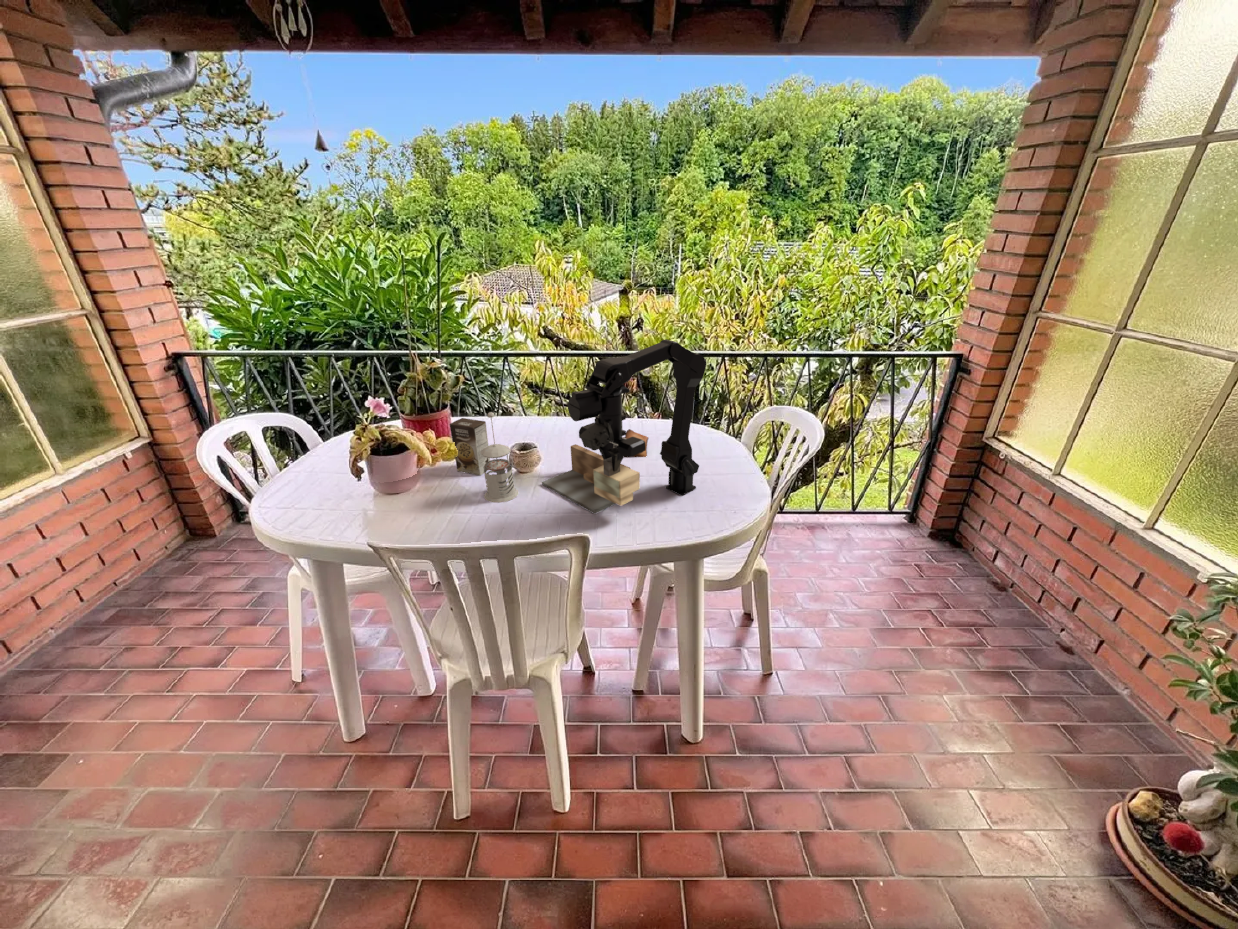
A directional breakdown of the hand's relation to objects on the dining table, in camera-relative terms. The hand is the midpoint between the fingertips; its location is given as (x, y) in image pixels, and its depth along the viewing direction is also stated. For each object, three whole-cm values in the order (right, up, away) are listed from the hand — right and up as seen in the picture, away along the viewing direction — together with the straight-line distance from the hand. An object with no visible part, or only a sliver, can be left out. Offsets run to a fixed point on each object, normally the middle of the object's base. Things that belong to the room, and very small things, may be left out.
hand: (612, 469), depth 133 cm
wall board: (-8, -6, +18) cm, 20 cm away
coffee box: (-44, 0, +32) cm, 54 cm away
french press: (-32, -7, +17) cm, 37 cm away
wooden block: (+1, -7, +4) cm, 8 cm away
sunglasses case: (+8, +7, +46) cm, 47 cm away
